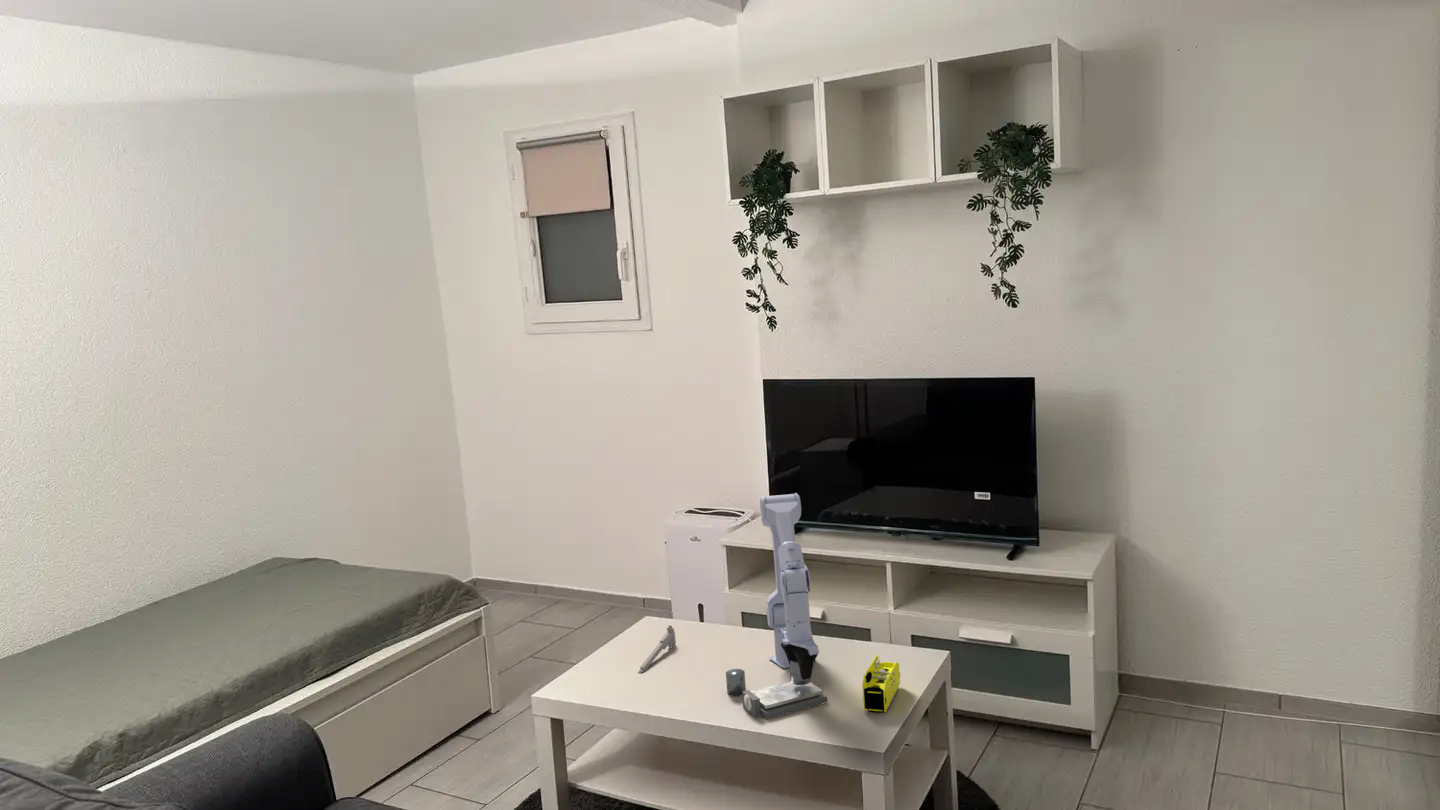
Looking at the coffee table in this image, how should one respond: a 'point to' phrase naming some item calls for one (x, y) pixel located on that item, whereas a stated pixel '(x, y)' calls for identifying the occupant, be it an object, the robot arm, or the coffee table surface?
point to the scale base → (756, 709)
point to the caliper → (660, 648)
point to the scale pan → (785, 694)
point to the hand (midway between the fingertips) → (801, 674)
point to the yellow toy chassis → (880, 685)
